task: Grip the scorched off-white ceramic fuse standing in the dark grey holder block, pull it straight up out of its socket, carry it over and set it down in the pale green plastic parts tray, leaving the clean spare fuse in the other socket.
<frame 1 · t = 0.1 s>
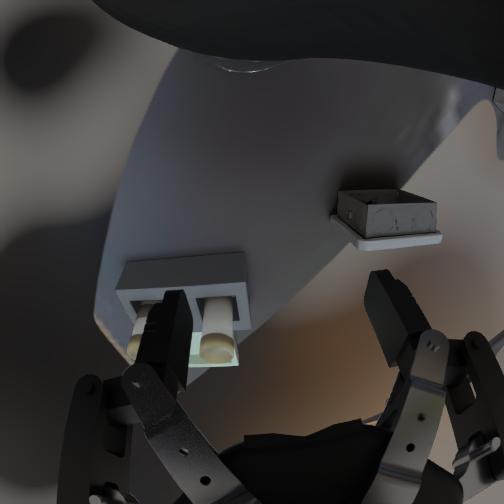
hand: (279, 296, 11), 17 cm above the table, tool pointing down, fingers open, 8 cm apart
parts tray: (196, 335, 41), on the table
holder block: (189, 282, 34), on the table
spare fuse: (219, 285, 33), point 1 cm above the table, touching holder block
blown fuse: (158, 289, 33), point 1 cm above the table, touching holder block
electrical switch: (365, 197, 28), on the table
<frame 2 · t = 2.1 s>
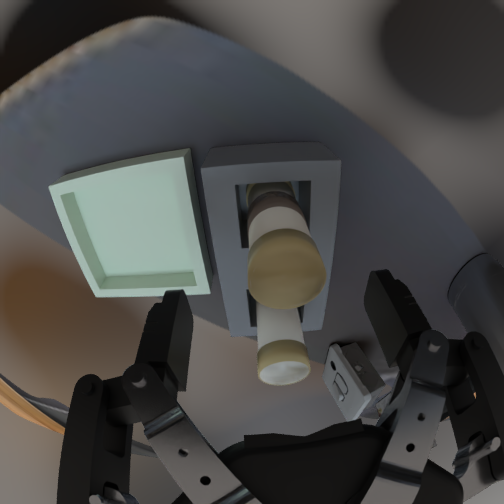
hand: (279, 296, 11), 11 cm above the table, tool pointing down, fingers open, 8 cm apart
parts tray: (136, 225, 22), on the table
holder block: (270, 230, 23), on the table
spare fuse: (272, 274, 24), point 1 cm above the table, touching holder block
blown fuse: (269, 190, 20), point 1 cm above the table, touching holder block
electrical switch: (343, 355, 35), on the table
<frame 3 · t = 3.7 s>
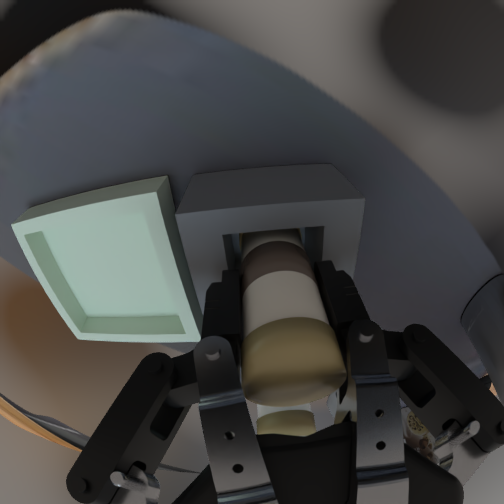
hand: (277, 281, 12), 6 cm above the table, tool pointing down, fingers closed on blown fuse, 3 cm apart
parts tray: (112, 265, 18), on the table
holder block: (269, 269, 19), on the table
coffee box: (402, 411, 44), on the table
spare fuse: (272, 318, 21), point 1 cm above the table, touching holder block
blown fuse: (268, 227, 16), point 1 cm above the table, touching gripper, holder block
electrical switch: (349, 383, 32), on the table
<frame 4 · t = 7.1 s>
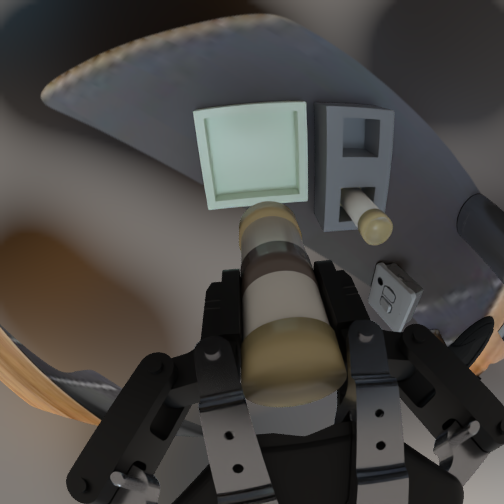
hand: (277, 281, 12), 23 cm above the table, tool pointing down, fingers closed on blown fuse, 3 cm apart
black flat oval piece: (458, 353, 69), on the table
parts tray: (253, 151, 31), on the table
holder block: (344, 159, 32), on the table
spare fuse: (345, 191, 33), point 1 cm above the table, touching holder block
blown fuse: (268, 227, 16), point 18 cm above the table, touching gripper
electrical switch: (384, 278, 44), on the table
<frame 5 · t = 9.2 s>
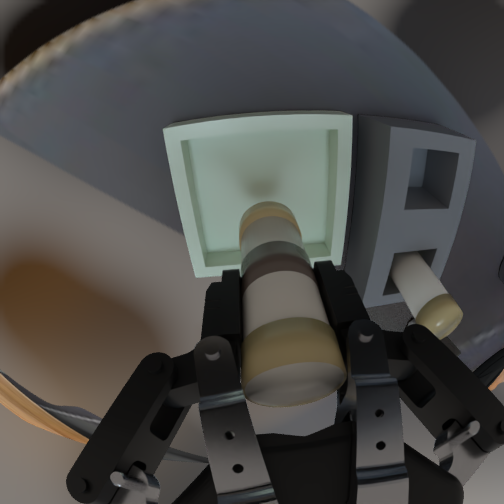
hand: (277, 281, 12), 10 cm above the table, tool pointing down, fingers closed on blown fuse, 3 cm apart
black flat oval piece: (472, 381, 58), on the table
parts tray: (262, 189, 20), on the table
holder block: (393, 201, 21), on the table
spare fuse: (390, 245, 23), point 1 cm above the table, touching holder block
blown fuse: (268, 227, 16), point 6 cm above the table, touching gripper
when the fingers open (7 cm above the table, at t = 10.8 s): blown fuse drops 1 cm, resting on parts tray.
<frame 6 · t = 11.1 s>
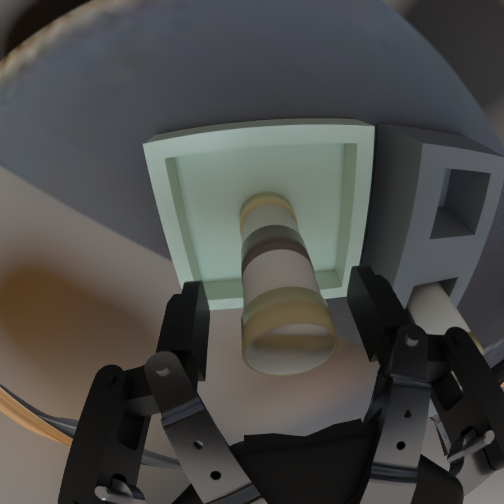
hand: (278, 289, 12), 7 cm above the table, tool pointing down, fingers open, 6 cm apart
black flat oval piece: (476, 388, 56), on the table
parts tray: (264, 212, 18), on the table
holder block: (411, 221, 18), on the table
coffee box: (444, 388, 44), on the table
spare fuse: (406, 270, 20), point 1 cm above the table, touching holder block
blown fuse: (266, 216, 17), point 1 cm above the table, touching parts tray
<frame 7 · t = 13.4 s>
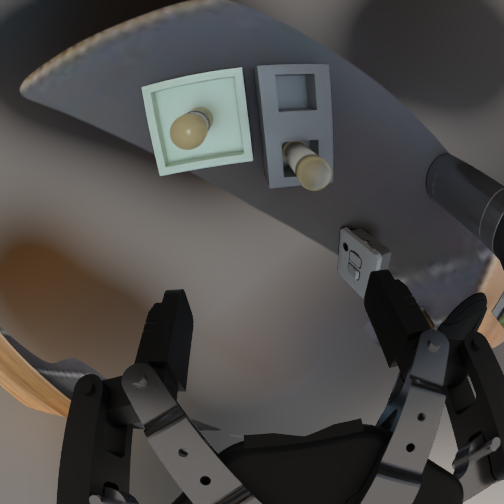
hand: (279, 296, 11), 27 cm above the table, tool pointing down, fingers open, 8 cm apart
black flat oval piece: (451, 335, 69), on the table
parts tray: (199, 119, 31), on the table
holder block: (290, 120, 32), on the table
spare fuse: (293, 150, 34), point 1 cm above the table, touching holder block
blown fuse: (199, 120, 31), point 1 cm above the table, touching parts tray
electrical switch: (352, 246, 44), on the table
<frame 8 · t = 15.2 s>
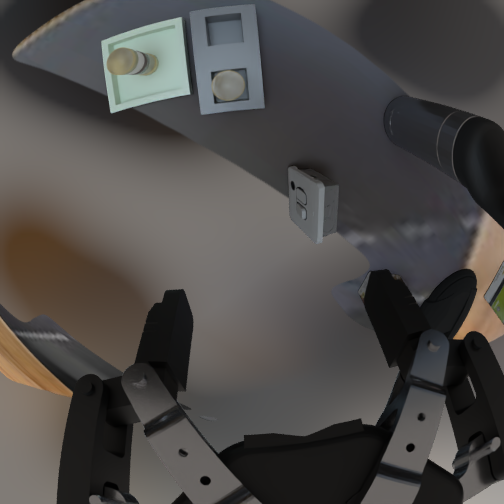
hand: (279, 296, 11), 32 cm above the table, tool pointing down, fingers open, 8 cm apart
black flat oval piece: (438, 318, 68), on the table
parts tray: (148, 65, 30), on the table
tea box: (499, 277, 60), on the table
holder block: (228, 60, 30), on the table
spare fuse: (231, 85, 32), point 1 cm above the table, touching holder block
blown fuse: (147, 64, 29), point 1 cm above the table, touching parts tray
electrical switch: (304, 189, 43), on the table
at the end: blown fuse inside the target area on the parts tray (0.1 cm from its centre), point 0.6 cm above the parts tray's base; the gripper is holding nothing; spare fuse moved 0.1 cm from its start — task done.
